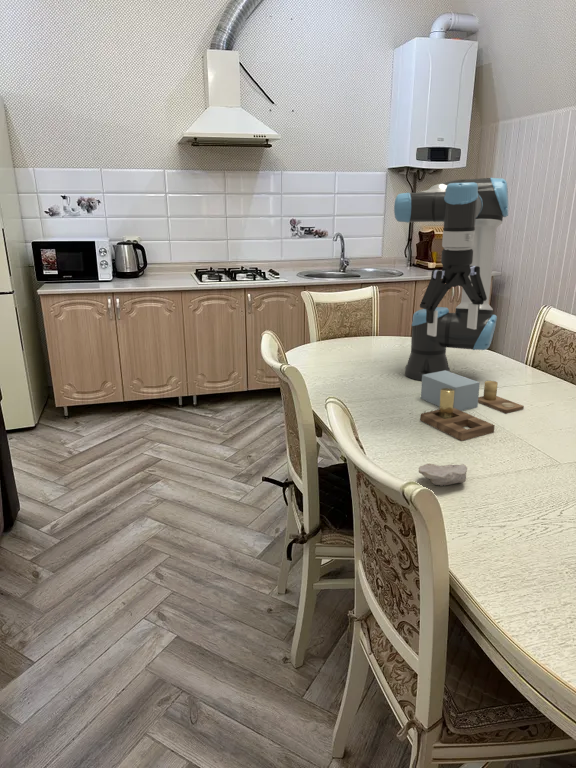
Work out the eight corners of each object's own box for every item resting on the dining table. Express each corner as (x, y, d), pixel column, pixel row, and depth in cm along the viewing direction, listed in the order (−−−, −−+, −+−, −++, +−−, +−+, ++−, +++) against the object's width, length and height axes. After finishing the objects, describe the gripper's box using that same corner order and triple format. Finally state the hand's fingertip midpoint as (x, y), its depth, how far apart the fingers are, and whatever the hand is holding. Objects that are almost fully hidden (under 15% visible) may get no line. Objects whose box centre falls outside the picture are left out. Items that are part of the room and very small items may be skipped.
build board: (420, 420, 153) (420, 413, 152) (450, 413, 157) (451, 406, 157) (461, 440, 139) (462, 433, 138) (493, 432, 144) (494, 425, 143)
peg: (435, 420, 152) (437, 389, 150) (445, 418, 154) (448, 387, 151) (444, 424, 149) (447, 393, 147) (455, 422, 151) (457, 391, 148)
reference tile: (474, 401, 166) (476, 382, 164) (491, 397, 169) (493, 378, 167) (505, 413, 156) (508, 393, 154) (523, 409, 159) (525, 389, 157)
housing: (420, 398, 170) (422, 374, 167) (443, 393, 174) (445, 370, 171) (453, 412, 158) (455, 387, 155) (477, 407, 161) (479, 382, 159)
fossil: (410, 464, 121) (449, 443, 122) (421, 489, 123) (459, 467, 124) (429, 480, 112) (471, 456, 113) (440, 505, 114) (481, 482, 115)
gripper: (428, 253, 129) (423, 341, 136) (505, 246, 139) (498, 328, 146) (407, 250, 135) (404, 335, 142) (483, 244, 146) (477, 323, 153)
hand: (452, 332), depth 144 cm, fingers open, 13 cm apart
